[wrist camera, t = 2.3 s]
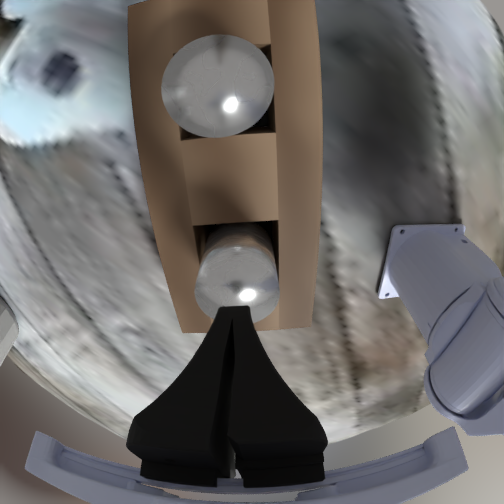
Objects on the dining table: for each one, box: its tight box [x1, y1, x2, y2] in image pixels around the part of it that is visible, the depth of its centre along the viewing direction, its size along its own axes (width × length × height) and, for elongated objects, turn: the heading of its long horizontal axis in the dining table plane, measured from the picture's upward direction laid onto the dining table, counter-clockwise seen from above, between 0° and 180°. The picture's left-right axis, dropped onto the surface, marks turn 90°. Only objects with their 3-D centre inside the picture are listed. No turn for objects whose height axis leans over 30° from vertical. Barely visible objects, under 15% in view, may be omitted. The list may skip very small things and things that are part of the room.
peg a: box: [161, 34, 274, 138], centre depth 11 cm, size 4×4×5 cm
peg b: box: [195, 222, 280, 323], centre depth 16 cm, size 4×4×5 cm
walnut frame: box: [128, 0, 323, 333], centre depth 17 cm, size 10×23×5 cm, turn 3°
